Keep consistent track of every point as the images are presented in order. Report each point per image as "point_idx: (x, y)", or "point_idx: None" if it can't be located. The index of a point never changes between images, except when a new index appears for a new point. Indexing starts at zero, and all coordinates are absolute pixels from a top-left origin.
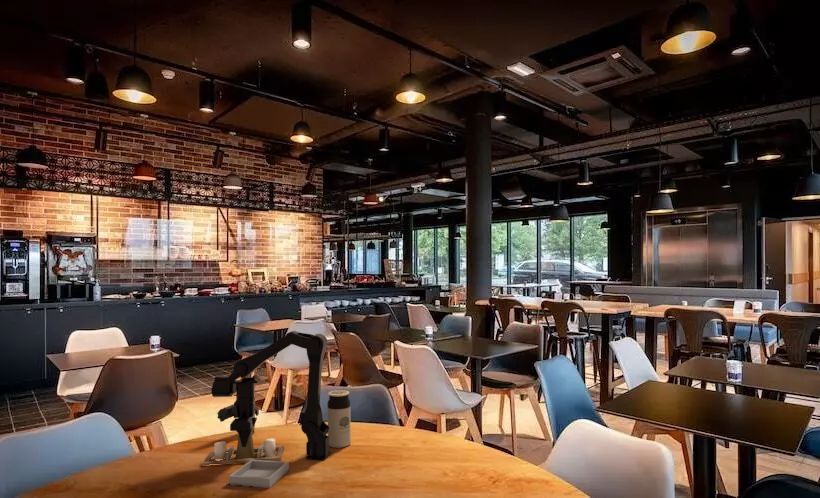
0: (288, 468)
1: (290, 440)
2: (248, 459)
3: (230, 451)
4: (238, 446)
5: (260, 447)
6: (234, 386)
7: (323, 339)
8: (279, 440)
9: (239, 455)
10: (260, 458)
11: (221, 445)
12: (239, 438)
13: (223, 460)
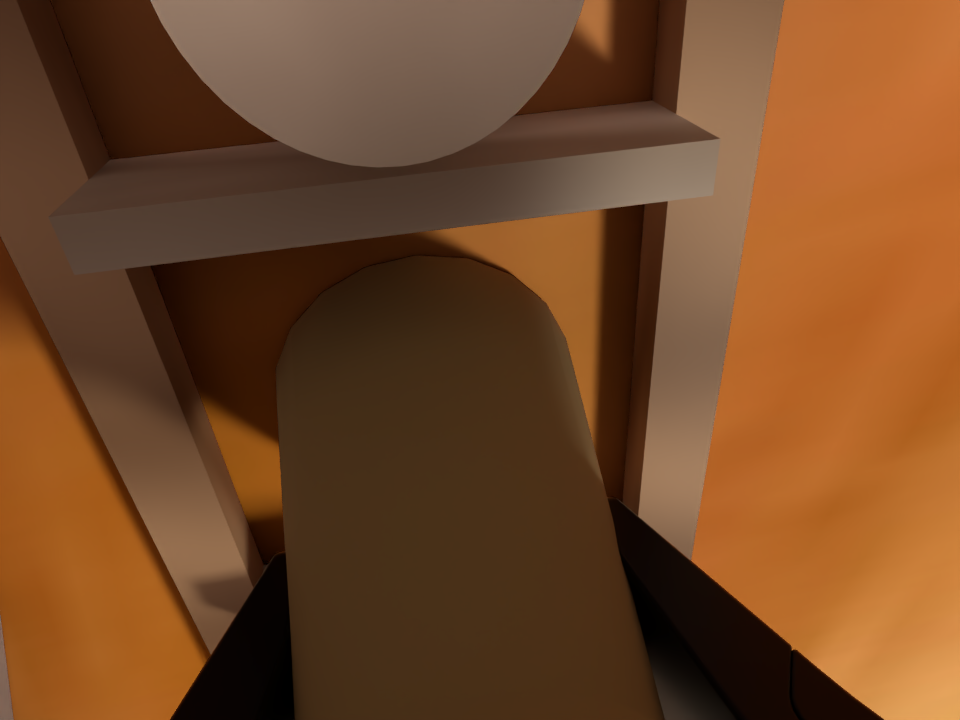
0: None
1: (874, 647)
2: (175, 533)
3: (324, 242)
4: (320, 468)
5: None
6: None
7: None
8: (933, 566)
9: (283, 394)
10: None
11: (188, 54)
12: (327, 643)
13: (55, 132)
